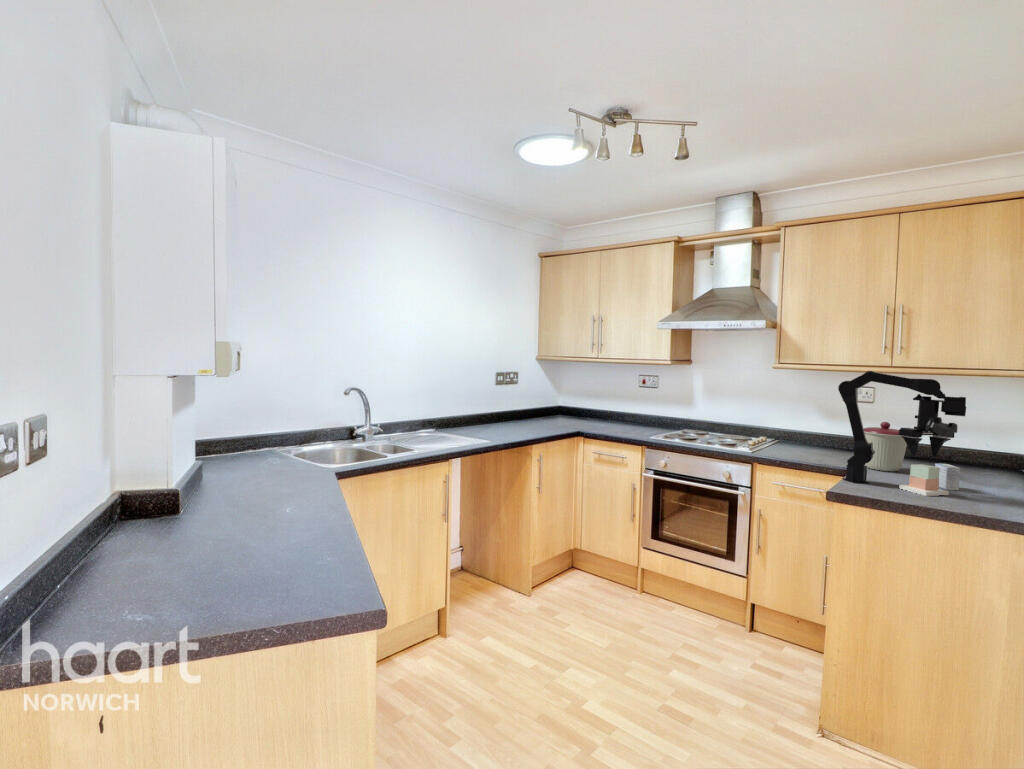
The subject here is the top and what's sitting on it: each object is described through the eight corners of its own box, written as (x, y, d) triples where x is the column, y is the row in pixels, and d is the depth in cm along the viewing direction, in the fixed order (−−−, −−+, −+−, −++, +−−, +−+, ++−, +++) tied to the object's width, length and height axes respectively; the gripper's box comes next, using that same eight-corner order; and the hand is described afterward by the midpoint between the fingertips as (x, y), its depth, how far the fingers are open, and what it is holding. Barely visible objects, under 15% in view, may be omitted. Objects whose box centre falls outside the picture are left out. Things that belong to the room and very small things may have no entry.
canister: (883, 474, 221) (887, 424, 220) (847, 465, 239) (851, 419, 238) (918, 473, 225) (922, 425, 224) (880, 465, 243) (884, 419, 241)
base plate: (925, 496, 185) (926, 491, 185) (899, 488, 194) (899, 484, 194) (948, 495, 187) (948, 491, 187) (920, 488, 197) (920, 484, 197)
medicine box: (959, 491, 195) (961, 467, 195) (945, 489, 196) (947, 467, 196) (946, 486, 203) (948, 463, 202) (932, 485, 204) (934, 462, 203)
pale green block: (928, 479, 187) (928, 468, 186) (910, 475, 192) (910, 464, 192) (938, 478, 189) (939, 467, 188) (920, 474, 194) (921, 464, 194)
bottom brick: (908, 486, 193) (909, 475, 193) (921, 485, 194) (922, 475, 194) (925, 490, 187) (925, 479, 187) (938, 490, 188) (939, 478, 188)
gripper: (929, 415, 180) (925, 460, 181) (972, 416, 184) (968, 460, 185) (899, 412, 191) (895, 454, 192) (940, 413, 195) (936, 454, 196)
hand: (924, 456), depth 191 cm, fingers open, 9 cm apart
